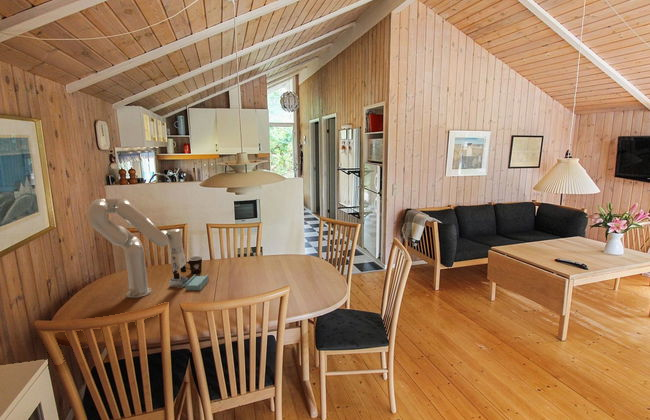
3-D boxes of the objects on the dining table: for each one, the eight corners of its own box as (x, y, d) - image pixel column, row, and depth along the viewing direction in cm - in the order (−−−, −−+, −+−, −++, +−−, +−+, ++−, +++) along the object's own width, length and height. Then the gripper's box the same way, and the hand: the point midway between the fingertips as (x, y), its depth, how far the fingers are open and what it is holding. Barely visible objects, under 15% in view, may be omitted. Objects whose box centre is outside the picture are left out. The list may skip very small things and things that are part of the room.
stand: (200, 290, 214) (200, 283, 213) (185, 290, 214) (185, 283, 214) (208, 280, 228) (208, 274, 227) (194, 280, 228) (194, 274, 227)
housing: (182, 288, 217) (181, 279, 216) (169, 286, 220) (168, 277, 219) (188, 284, 223) (187, 275, 222) (176, 282, 225) (175, 274, 224)
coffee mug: (204, 269, 245) (203, 256, 243) (200, 274, 237) (199, 260, 235) (187, 270, 245) (186, 256, 243) (183, 275, 236) (181, 260, 234)
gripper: (176, 254, 208) (180, 281, 212) (188, 244, 225) (191, 269, 229) (163, 254, 208) (168, 281, 212) (176, 244, 225) (180, 270, 229)
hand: (180, 275), depth 221 cm, fingers open, 9 cm apart
